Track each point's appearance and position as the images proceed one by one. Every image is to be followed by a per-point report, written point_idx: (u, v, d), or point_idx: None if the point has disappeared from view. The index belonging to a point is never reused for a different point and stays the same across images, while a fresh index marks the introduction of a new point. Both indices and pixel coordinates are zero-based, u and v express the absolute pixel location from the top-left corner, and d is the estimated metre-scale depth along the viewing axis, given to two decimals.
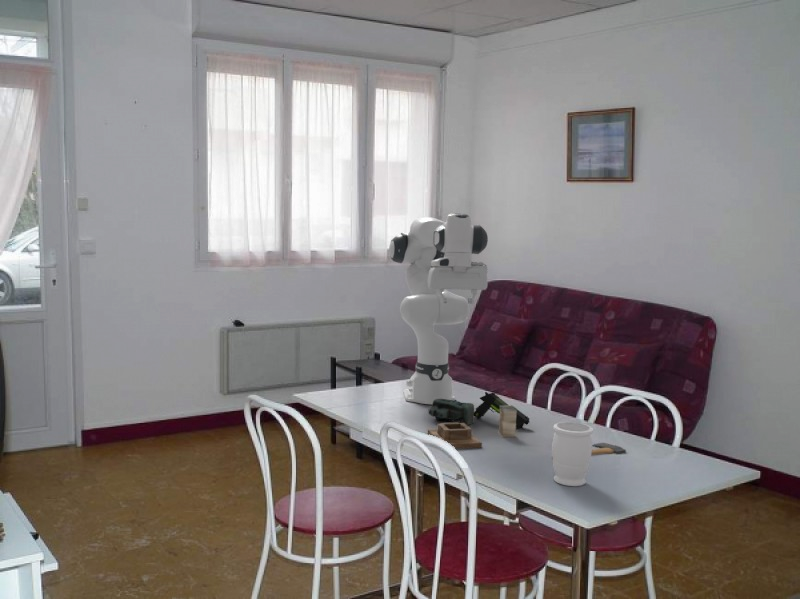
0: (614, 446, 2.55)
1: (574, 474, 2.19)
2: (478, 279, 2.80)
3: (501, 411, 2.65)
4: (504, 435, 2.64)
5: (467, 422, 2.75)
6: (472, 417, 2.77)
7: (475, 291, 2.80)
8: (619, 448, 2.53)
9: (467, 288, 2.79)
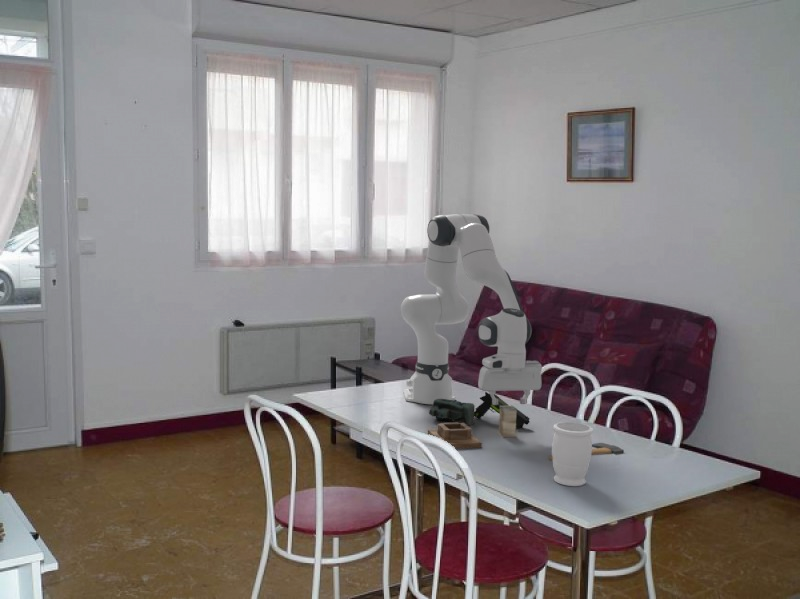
0: (612, 446, 2.55)
1: (574, 474, 2.19)
2: (532, 379, 2.64)
3: (501, 411, 2.65)
4: (504, 435, 2.64)
5: (468, 422, 2.75)
6: (473, 417, 2.77)
7: (528, 391, 2.65)
8: (617, 448, 2.53)
9: (520, 389, 2.63)
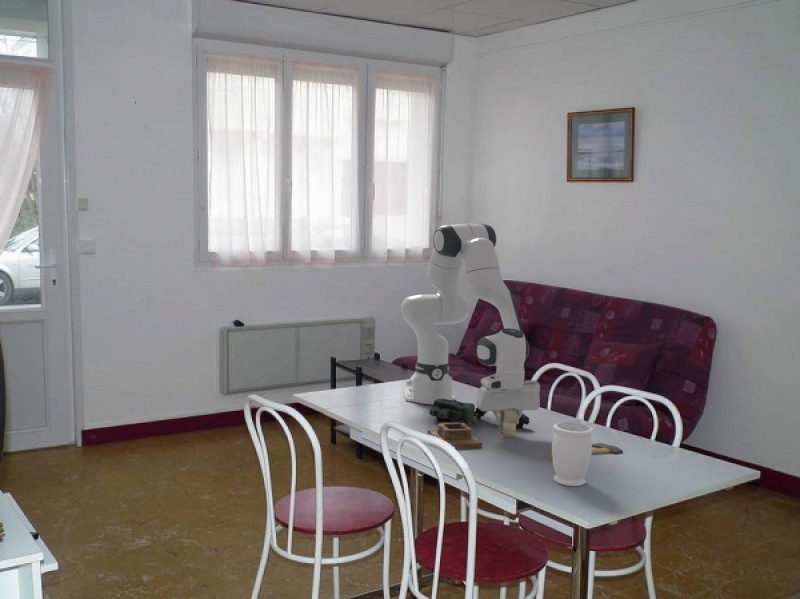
0: (611, 446, 2.54)
1: (574, 474, 2.19)
2: (530, 399, 2.65)
3: (501, 411, 2.65)
4: (504, 435, 2.64)
5: (468, 422, 2.75)
6: (473, 417, 2.77)
7: (520, 411, 2.65)
8: (616, 448, 2.53)
9: (518, 409, 2.64)
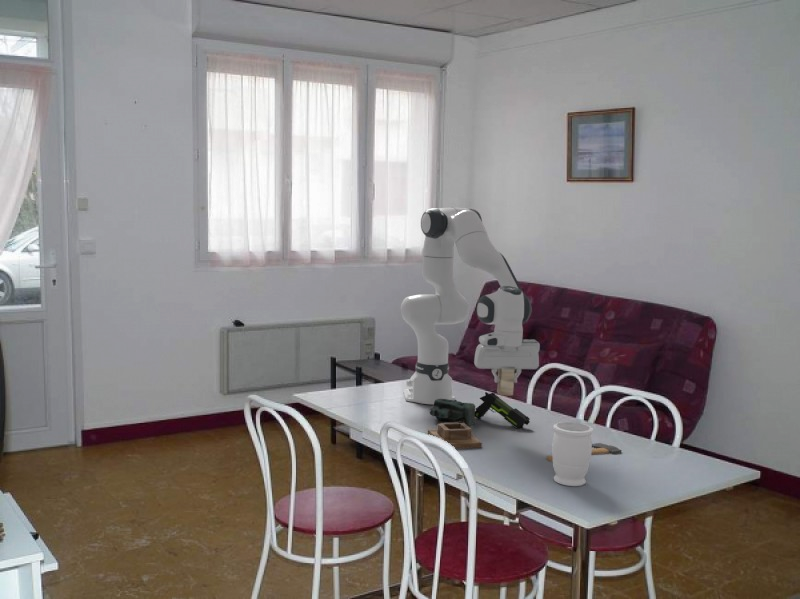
0: (610, 446, 2.54)
1: (574, 474, 2.19)
2: (529, 358, 2.62)
3: (499, 369, 2.63)
4: (501, 393, 2.62)
5: (468, 422, 2.75)
6: (473, 417, 2.77)
7: (519, 370, 2.62)
8: (615, 448, 2.53)
9: (516, 368, 2.62)
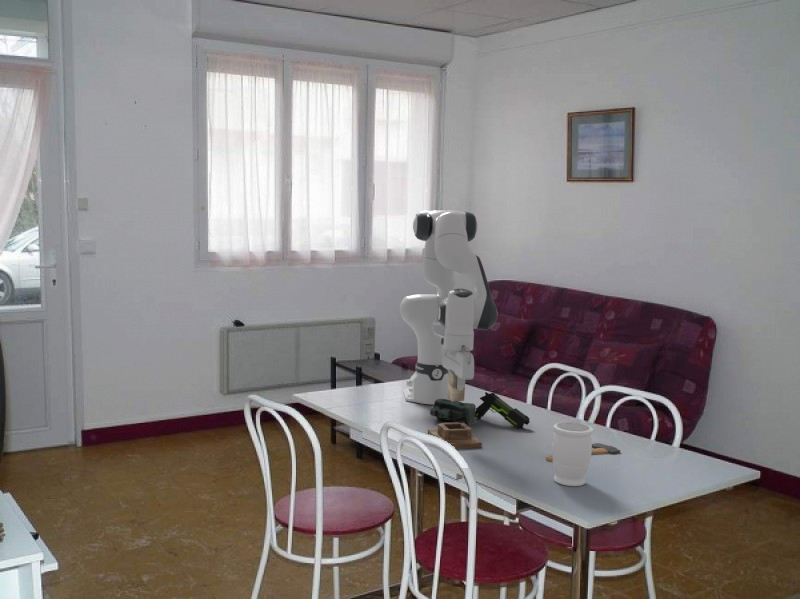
0: (609, 446, 2.54)
1: (574, 474, 2.19)
2: (459, 366, 2.48)
3: None
4: None
5: (468, 422, 2.75)
6: (473, 417, 2.77)
7: (458, 377, 2.51)
8: (614, 448, 2.53)
9: (455, 373, 2.52)
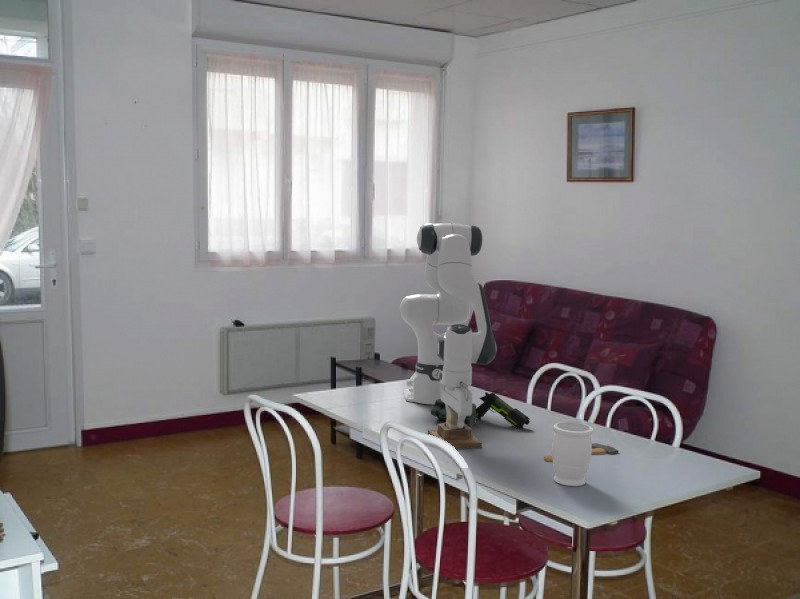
0: (607, 446, 2.54)
1: (574, 474, 2.19)
2: (457, 402, 2.49)
3: None
4: None
5: (469, 422, 2.75)
6: (474, 417, 2.77)
7: (458, 415, 2.50)
8: (612, 448, 2.53)
9: (453, 409, 2.53)
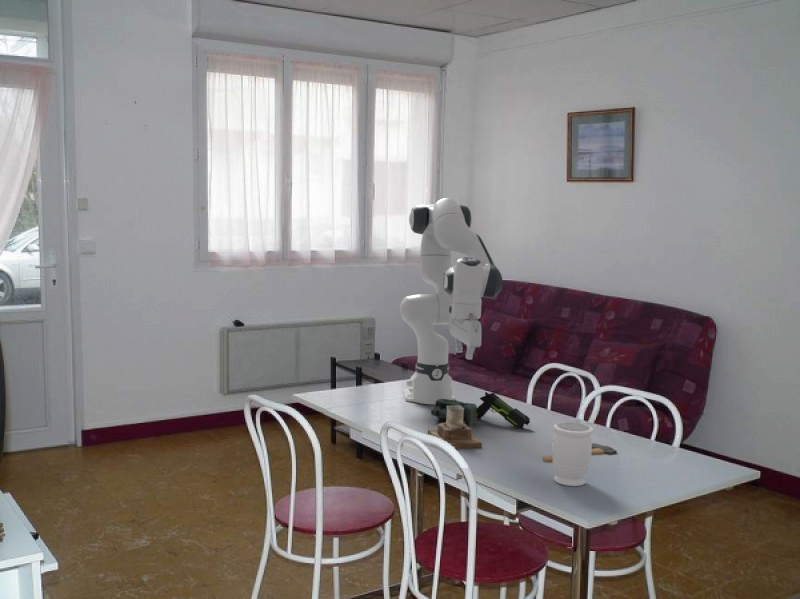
0: (605, 447, 2.54)
1: (574, 474, 2.19)
2: (466, 334, 2.51)
3: None
4: None
5: (469, 422, 2.75)
6: (475, 417, 2.77)
7: (467, 346, 2.52)
8: (610, 449, 2.52)
9: (462, 341, 2.55)
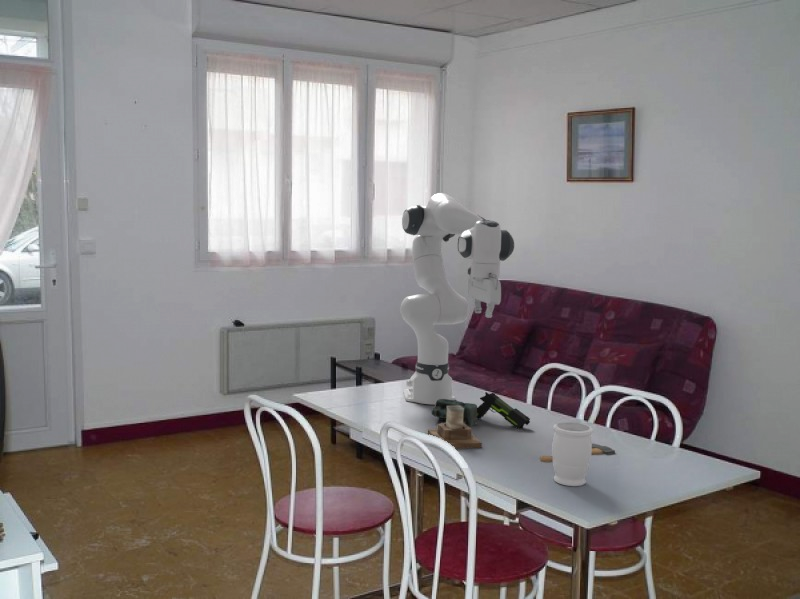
0: (603, 447, 2.54)
1: (574, 474, 2.19)
2: (486, 292, 2.60)
3: None
4: None
5: (470, 423, 2.75)
6: (475, 418, 2.77)
7: (487, 305, 2.61)
8: (608, 449, 2.52)
9: (482, 300, 2.64)
